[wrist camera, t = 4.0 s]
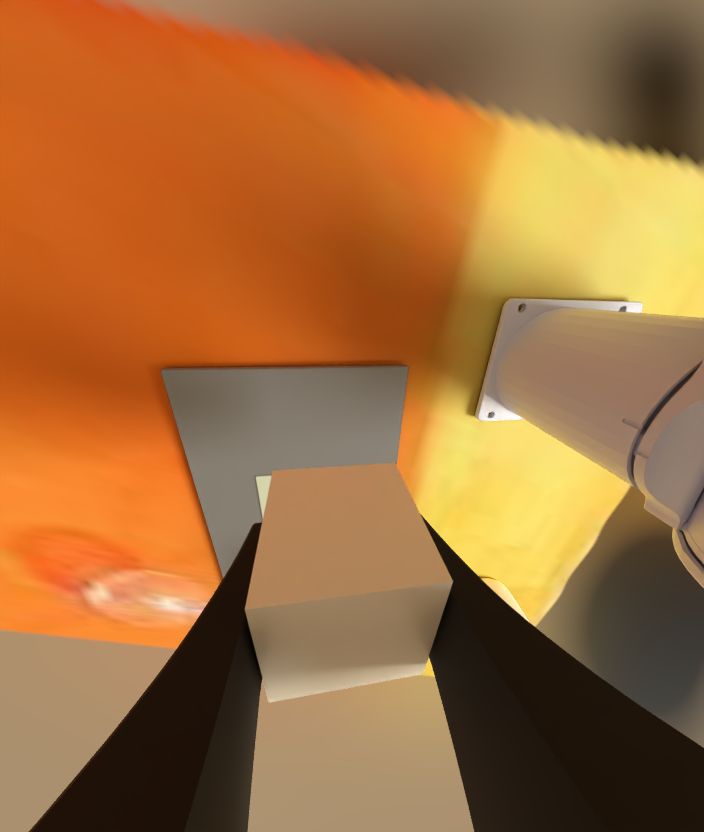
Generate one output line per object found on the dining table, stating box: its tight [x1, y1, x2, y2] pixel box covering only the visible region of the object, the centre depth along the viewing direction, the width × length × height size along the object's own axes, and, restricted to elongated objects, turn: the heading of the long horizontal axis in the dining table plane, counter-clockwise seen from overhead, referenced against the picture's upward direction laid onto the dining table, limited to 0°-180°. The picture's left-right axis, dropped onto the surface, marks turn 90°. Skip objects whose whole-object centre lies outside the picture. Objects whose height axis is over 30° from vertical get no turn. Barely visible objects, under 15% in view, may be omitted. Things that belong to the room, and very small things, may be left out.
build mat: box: [160, 365, 409, 578], centre depth 20 cm, size 14×21×1 cm, turn 178°
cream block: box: [245, 463, 453, 702], centre depth 9 cm, size 4×4×4 cm
